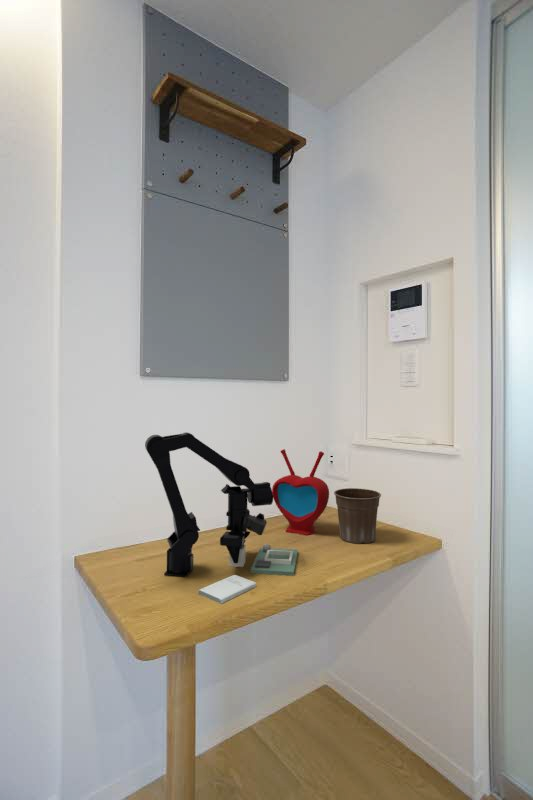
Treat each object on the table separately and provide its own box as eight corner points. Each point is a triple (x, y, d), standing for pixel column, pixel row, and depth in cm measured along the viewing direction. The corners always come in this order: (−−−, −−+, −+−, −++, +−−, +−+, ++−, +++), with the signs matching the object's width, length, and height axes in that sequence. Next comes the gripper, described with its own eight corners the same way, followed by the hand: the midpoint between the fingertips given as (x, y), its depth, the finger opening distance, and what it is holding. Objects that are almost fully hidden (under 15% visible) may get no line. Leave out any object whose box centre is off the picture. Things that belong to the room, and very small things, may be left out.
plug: (229, 566, 120) (229, 546, 120) (232, 561, 124) (232, 542, 124) (242, 566, 119) (242, 547, 119) (245, 561, 123) (245, 543, 123)
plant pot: (373, 549, 134) (373, 500, 134) (327, 541, 142) (327, 494, 142) (386, 536, 148) (386, 491, 148) (343, 529, 156) (343, 486, 156)
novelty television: (269, 530, 154) (269, 450, 154) (283, 522, 165) (284, 447, 166) (321, 539, 144) (321, 453, 145) (333, 529, 156) (333, 450, 156)
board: (250, 573, 115) (250, 563, 115) (260, 550, 133) (260, 542, 133) (293, 575, 113) (293, 566, 113) (297, 552, 131) (297, 544, 131)
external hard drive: (198, 595, 102) (233, 579, 112) (221, 606, 97) (256, 588, 106) (198, 589, 102) (233, 573, 112) (221, 599, 97) (256, 582, 106)
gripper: (259, 516, 111) (259, 574, 111) (268, 501, 130) (268, 550, 130) (219, 515, 113) (219, 572, 113) (234, 499, 131) (234, 549, 131)
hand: (237, 560), depth 121 cm, fingers closed on plug, 4 cm apart
